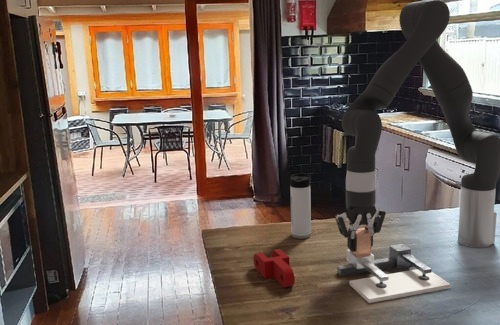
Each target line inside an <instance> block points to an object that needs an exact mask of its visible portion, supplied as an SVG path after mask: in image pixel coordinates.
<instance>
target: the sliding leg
mask: <svg viewBox="0 0 500 325" xmlns="http://www.w3.org/2000/svg"><path fill="white" fill-rule="evenodd" d="M345 254H346V255H345V258H346V260H345V261H347V262H348V264H352V265H353V266H354V267H355V268H356V269H360V268H365V269H367V270H368V271H369V272H368V273H370V274H371V275H372V276H373V277H376V278H378V279H379V280H380V284H381V285H382V284H383V281H386V280H388V278H389V276H388V275H386V274H387V273H385V272H384V271H383V270H382V269H381V270H380V269H379V268H377V267H376V266H375V265H374V260H375V255H374V254H373V253H372V247H371V232H369V231H368V230H366V229H365V227H358V230H357V231H356V234H355V252H352V251H351V250H350V249H349V248H347V249H346V250H345Z"/></svg>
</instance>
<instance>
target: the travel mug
mask: <svg viewBox="0 0 500 325" xmlns="http://www.w3.org/2000/svg"><path fill="white" fill-rule="evenodd" d="M289 178H290V185H289V186H290V187H289V189H290V194H289V195H290V224H291V225H290V228H291V229H290V230H291V232H290V234H291V235H290V236H291V237H292V238H294V239H297V238H298V240H303V239H304V240H305V239H308V237H309V238H310V237H311V236H312V222H311V221H312V220H311V219H312V217H311V216H312V215H311V214H312V213H311V202H312V201H311V176H310V175H309V174H307V173H305V172H299V173H295V174H293V175H291V176H290V177H289Z"/></svg>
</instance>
